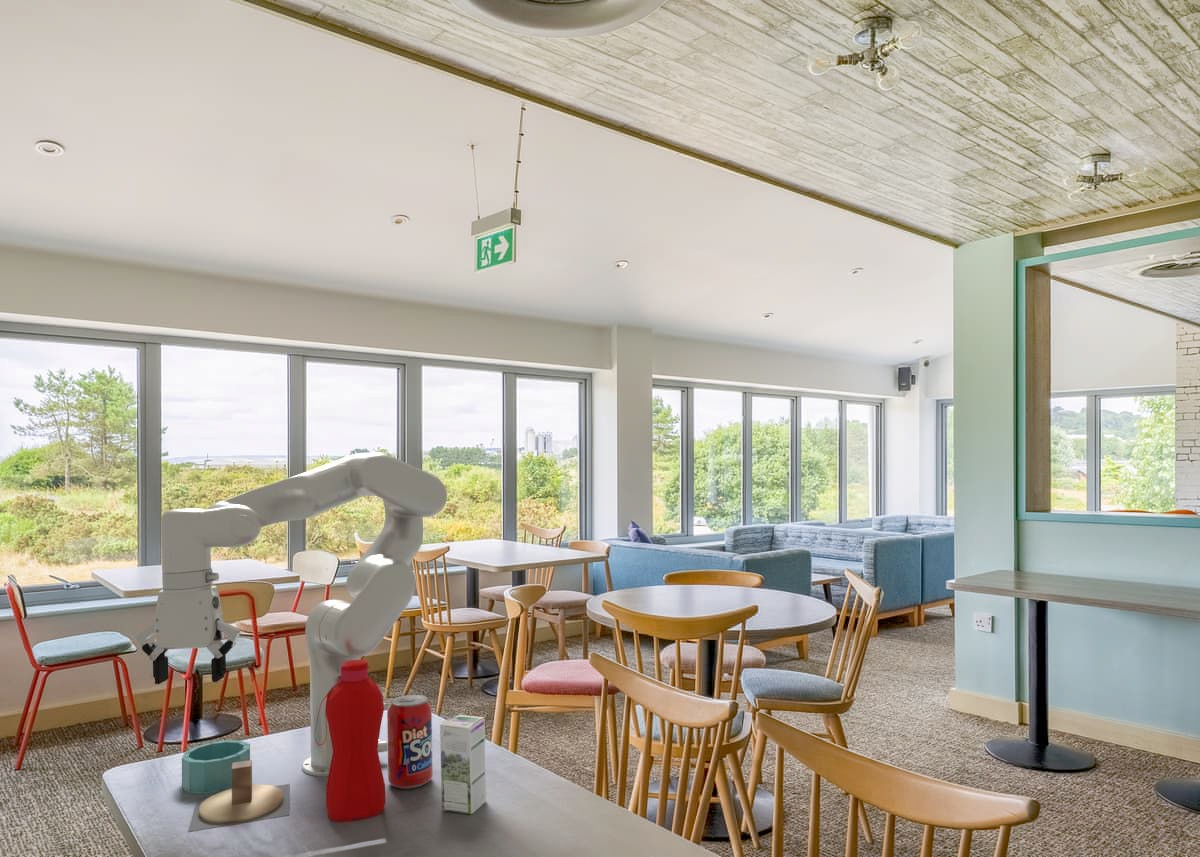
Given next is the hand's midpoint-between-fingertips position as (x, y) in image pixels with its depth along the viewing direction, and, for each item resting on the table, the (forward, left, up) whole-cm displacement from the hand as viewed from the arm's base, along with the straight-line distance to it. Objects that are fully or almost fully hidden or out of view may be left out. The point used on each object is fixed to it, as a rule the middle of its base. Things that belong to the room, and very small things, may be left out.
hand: (190, 680), depth 140 cm
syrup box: (-43, +18, -22) cm, 52 cm away
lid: (-8, +4, -21) cm, 23 cm away
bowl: (-3, -10, -22) cm, 24 cm away
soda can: (-36, +4, -22) cm, 42 cm away
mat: (-8, +4, -22) cm, 23 cm away
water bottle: (-25, +13, -22) cm, 36 cm away
